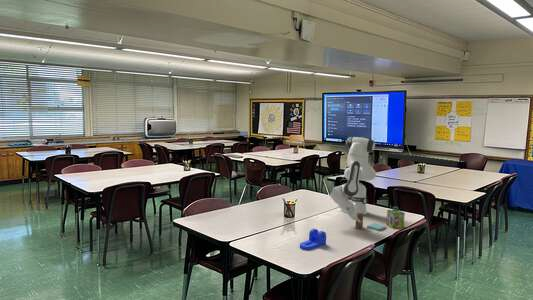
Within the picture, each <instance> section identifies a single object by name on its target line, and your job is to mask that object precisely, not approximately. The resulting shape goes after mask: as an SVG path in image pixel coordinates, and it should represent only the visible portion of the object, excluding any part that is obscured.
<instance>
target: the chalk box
mask: <svg viewBox="0 0 533 300" xmlns="http://www.w3.org/2000/svg"><path fill="white" fill-rule="evenodd" d="M386 226H387V227H390V228H392V229H401V228H402V229H403V228H404V226H405V212H403V211H401V210H399V207H398V206H392V209H387V211H386Z"/></svg>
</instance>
